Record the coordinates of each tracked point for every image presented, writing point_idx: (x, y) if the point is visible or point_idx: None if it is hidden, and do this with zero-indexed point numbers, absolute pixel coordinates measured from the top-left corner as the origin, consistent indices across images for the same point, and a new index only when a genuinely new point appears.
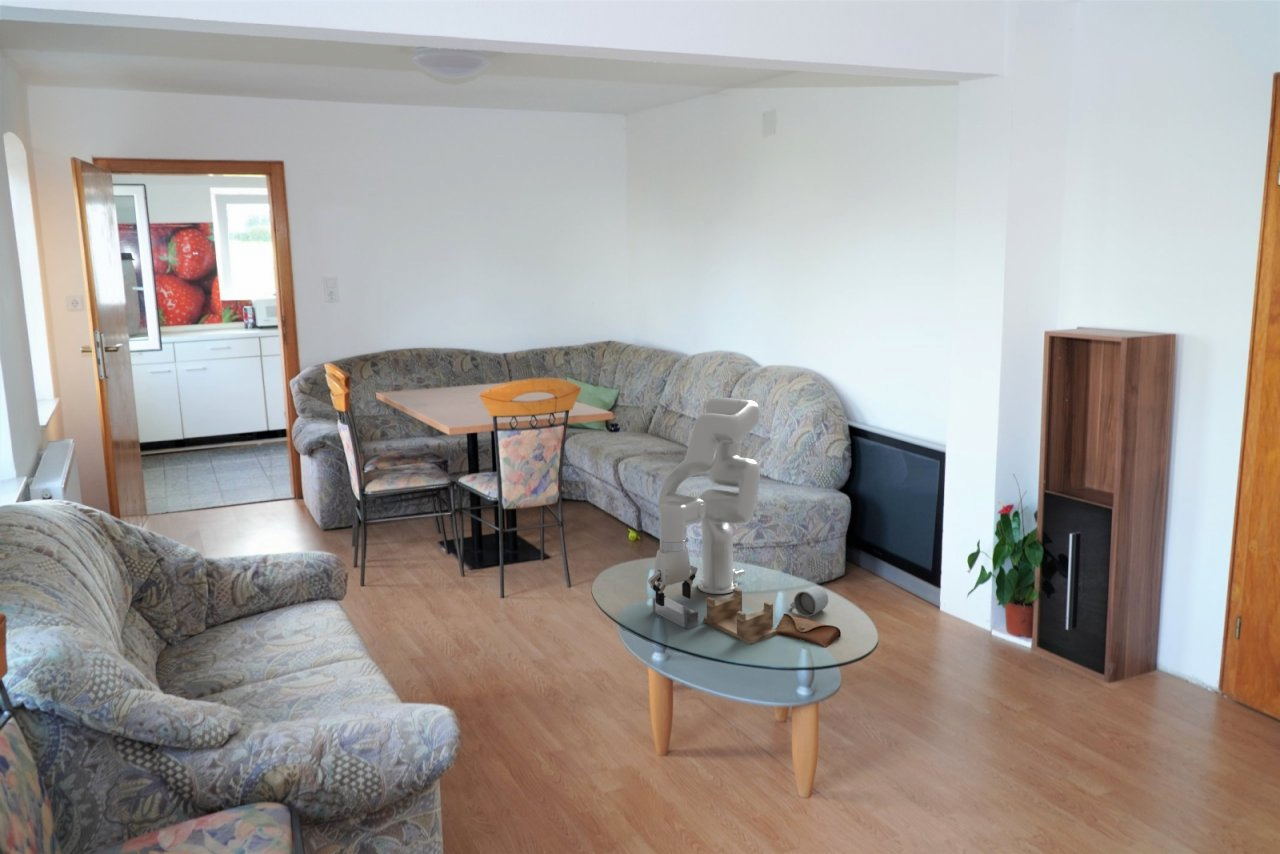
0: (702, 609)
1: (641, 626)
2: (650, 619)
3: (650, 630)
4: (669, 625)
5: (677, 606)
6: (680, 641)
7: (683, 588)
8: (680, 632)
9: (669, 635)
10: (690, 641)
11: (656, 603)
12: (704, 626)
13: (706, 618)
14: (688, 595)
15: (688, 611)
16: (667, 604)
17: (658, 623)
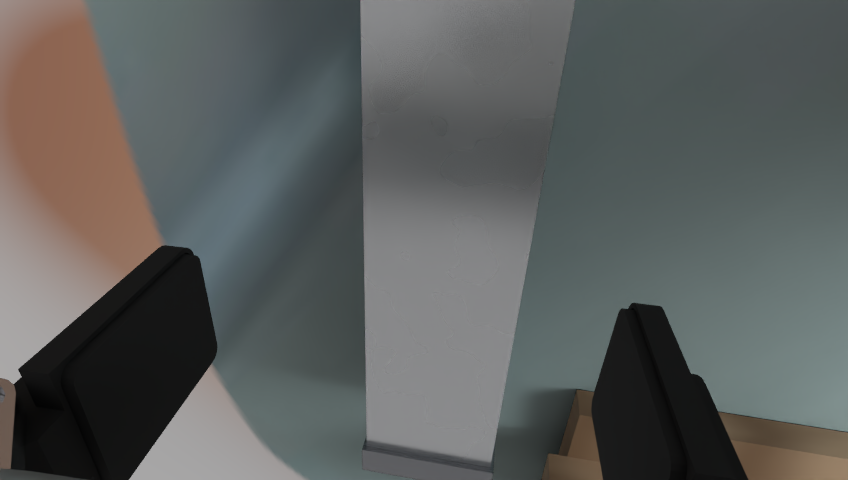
0: (806, 252)
1: (129, 113)
2: (266, 54)
3: (165, 219)
4: (333, 261)
5: (449, 306)
6: (257, 434)
7: (641, 418)
8: (327, 375)
9: (243, 354)
10: (303, 466)
11: (170, 248)
12: (512, 429)
13: (579, 435)
14: (597, 437)
15: (444, 432)
16: (404, 192)
17: (281, 174)
